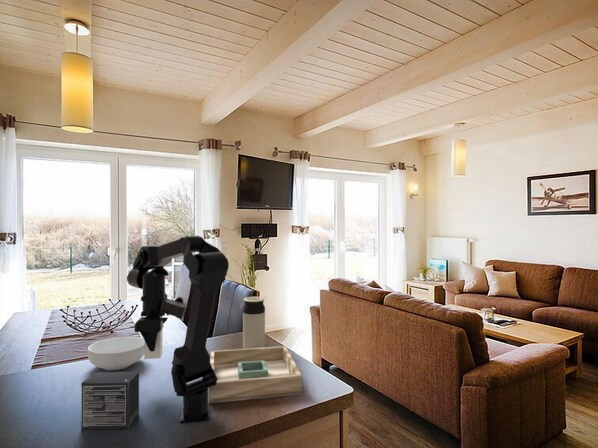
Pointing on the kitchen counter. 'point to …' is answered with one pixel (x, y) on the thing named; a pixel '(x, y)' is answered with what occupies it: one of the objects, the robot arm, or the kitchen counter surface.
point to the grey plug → (158, 348)
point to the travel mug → (253, 323)
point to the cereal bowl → (116, 352)
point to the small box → (110, 400)
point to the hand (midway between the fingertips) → (153, 348)
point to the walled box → (254, 374)
